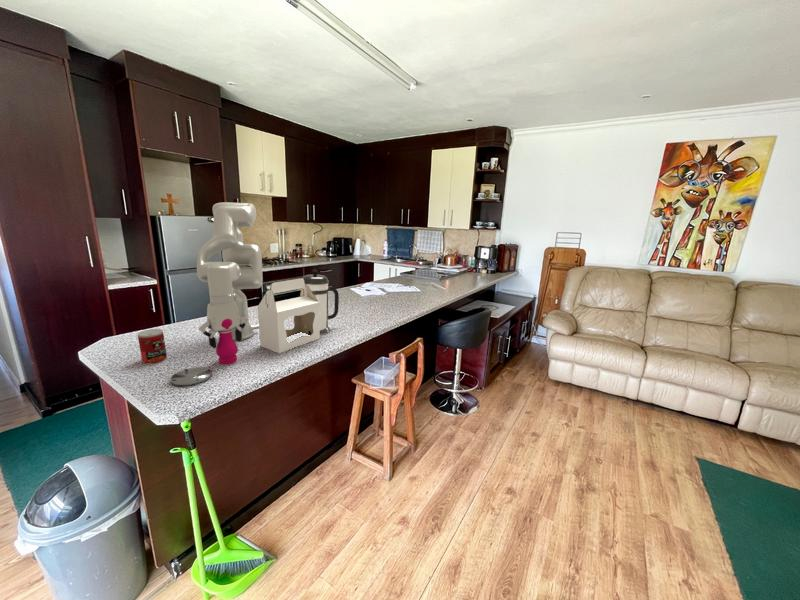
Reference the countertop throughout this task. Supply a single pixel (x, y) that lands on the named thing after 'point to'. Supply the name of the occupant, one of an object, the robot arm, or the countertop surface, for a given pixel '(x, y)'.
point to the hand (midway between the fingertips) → (226, 343)
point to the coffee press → (322, 297)
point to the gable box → (277, 312)
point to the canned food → (152, 345)
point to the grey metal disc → (191, 376)
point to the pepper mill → (226, 344)
